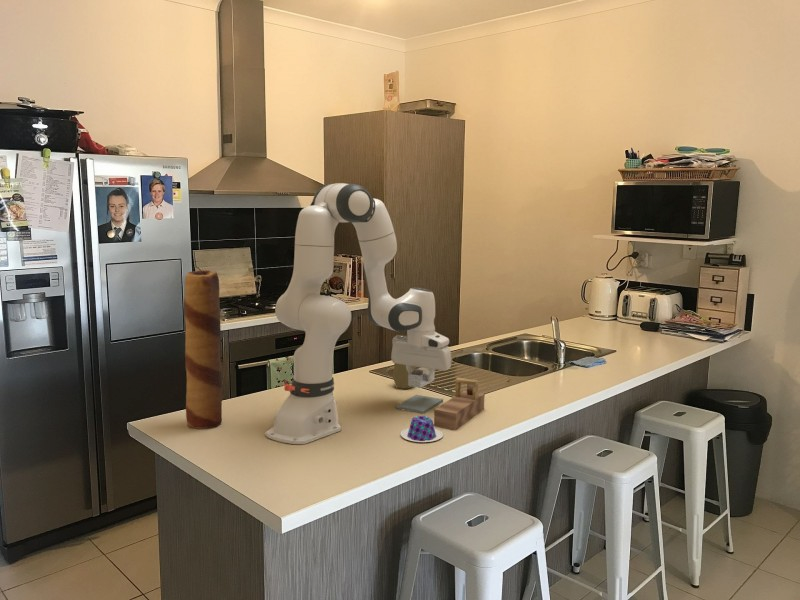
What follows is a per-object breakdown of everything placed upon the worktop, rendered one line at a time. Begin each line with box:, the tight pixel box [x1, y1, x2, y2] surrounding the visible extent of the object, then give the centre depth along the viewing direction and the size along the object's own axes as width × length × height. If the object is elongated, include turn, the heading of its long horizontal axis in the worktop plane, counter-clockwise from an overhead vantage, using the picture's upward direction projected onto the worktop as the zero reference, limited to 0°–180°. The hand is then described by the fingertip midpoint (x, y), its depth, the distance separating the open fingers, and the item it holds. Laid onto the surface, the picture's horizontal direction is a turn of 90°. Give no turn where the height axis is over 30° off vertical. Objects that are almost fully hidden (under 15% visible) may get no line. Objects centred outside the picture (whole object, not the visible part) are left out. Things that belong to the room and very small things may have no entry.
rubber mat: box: [395, 394, 444, 414], centre depth 212 cm, size 14×10×1 cm
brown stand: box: [433, 376, 486, 431], centre depth 200 cm, size 22×7×11 cm, turn 151°
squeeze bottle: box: [392, 363, 416, 390], centre depth 230 cm, size 8×8×18 cm
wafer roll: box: [183, 269, 223, 429], centre depth 189 cm, size 10×11×45 cm
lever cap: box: [408, 367, 436, 389], centre depth 211 cm, size 10×4×5 cm, turn 151°
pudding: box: [400, 415, 444, 443], centre depth 184 cm, size 12×12×5 cm
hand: (420, 379), depth 211 cm, fingers closed on lever cap, 4 cm apart
